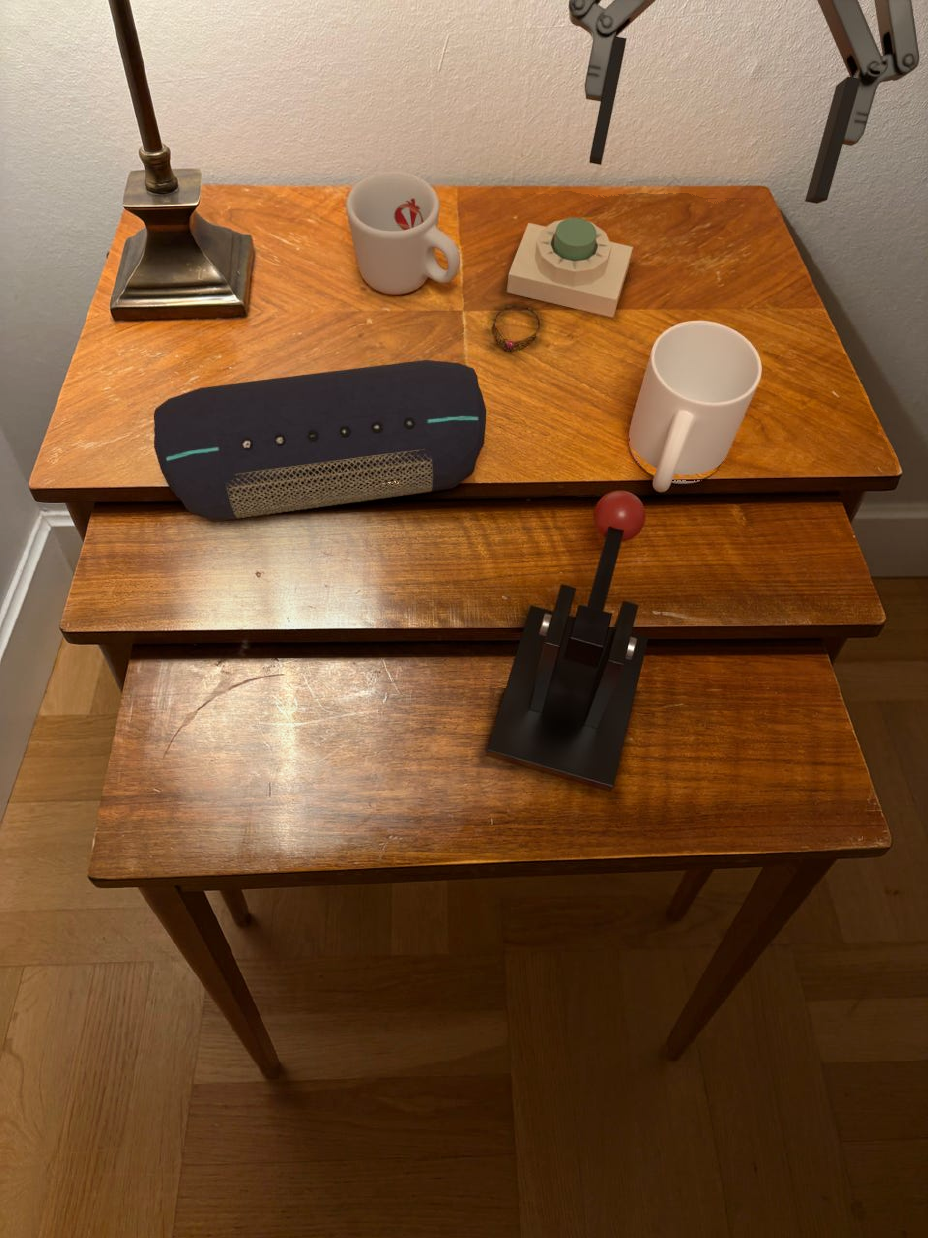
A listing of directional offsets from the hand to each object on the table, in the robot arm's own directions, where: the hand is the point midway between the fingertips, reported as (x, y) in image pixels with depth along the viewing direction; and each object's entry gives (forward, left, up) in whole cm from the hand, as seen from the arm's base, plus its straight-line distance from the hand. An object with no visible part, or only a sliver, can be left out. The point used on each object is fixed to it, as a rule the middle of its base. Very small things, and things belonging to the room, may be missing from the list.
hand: (704, 181), depth 60 cm
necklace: (+12, -8, -25) cm, 29 cm away
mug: (-4, +2, -25) cm, 26 cm away
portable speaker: (+22, +12, -25) cm, 36 cm away
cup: (+23, -11, -25) cm, 36 cm away
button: (+9, -16, -21) cm, 29 cm away
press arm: (-1, +19, -18) cm, 26 cm away
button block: (+9, -16, -25) cm, 31 cm away
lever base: (-1, +25, -25) cm, 35 cm away
